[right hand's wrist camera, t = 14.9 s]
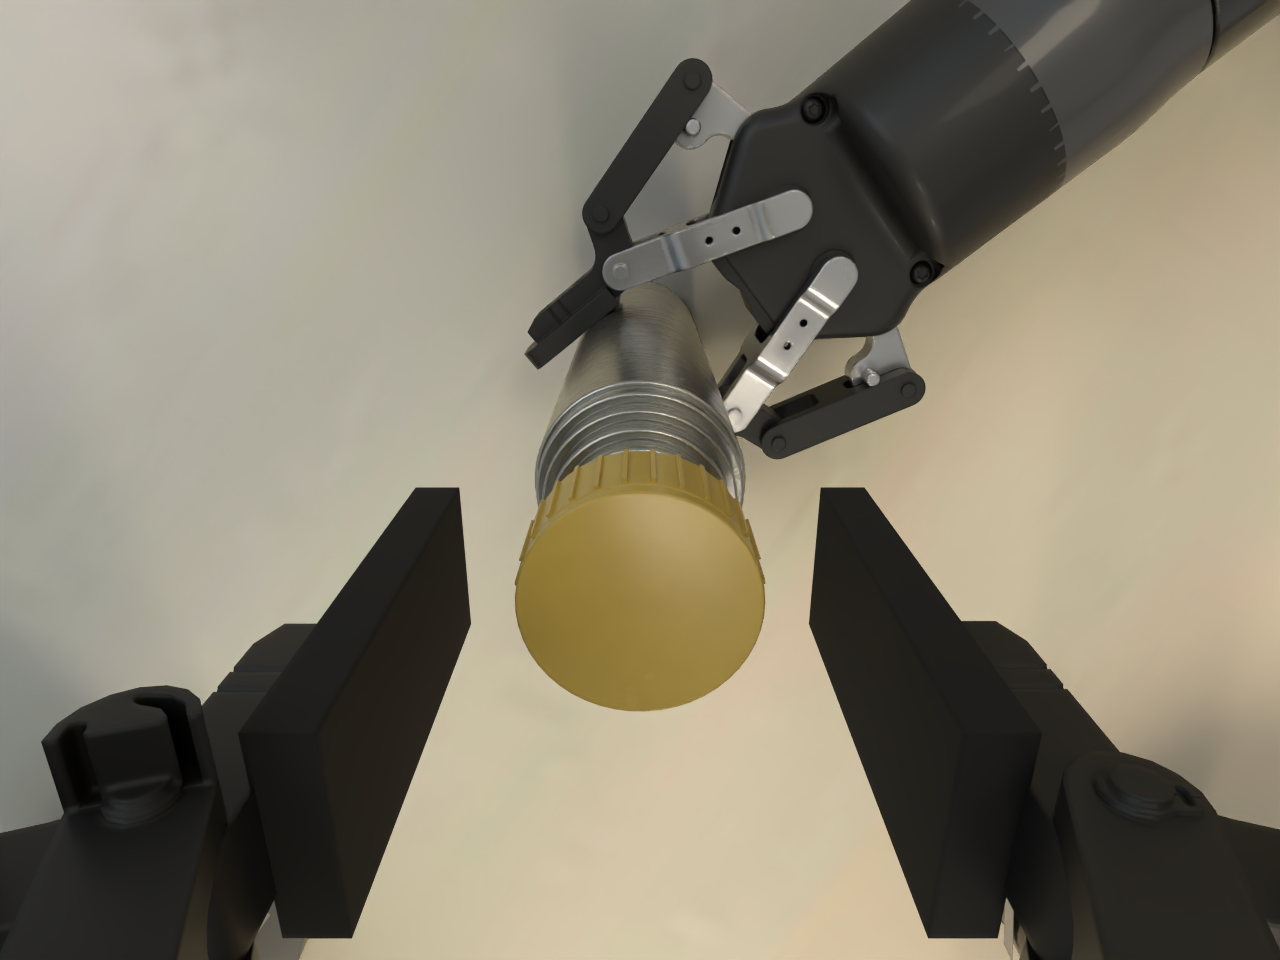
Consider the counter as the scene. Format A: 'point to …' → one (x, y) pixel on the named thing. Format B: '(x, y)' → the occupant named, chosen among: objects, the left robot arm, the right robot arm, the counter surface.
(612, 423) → the bottle
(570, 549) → the cap
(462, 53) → the counter surface
